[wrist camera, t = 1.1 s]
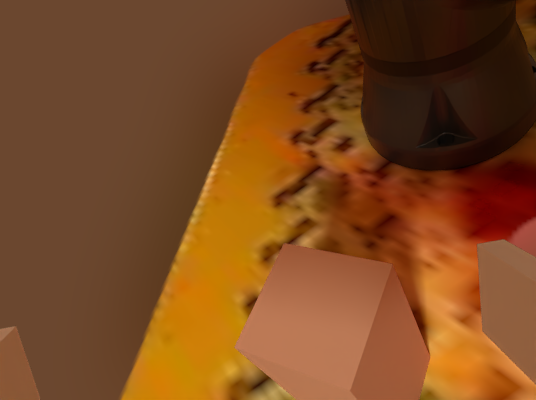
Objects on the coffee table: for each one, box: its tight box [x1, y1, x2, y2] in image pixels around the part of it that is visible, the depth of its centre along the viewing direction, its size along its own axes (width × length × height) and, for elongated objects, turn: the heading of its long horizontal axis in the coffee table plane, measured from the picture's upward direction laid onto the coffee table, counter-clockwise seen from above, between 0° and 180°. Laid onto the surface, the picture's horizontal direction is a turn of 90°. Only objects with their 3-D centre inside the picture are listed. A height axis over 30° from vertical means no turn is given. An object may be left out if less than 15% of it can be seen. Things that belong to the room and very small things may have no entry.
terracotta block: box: [234, 243, 430, 400], centre depth 25 cm, size 6×6×12 cm
